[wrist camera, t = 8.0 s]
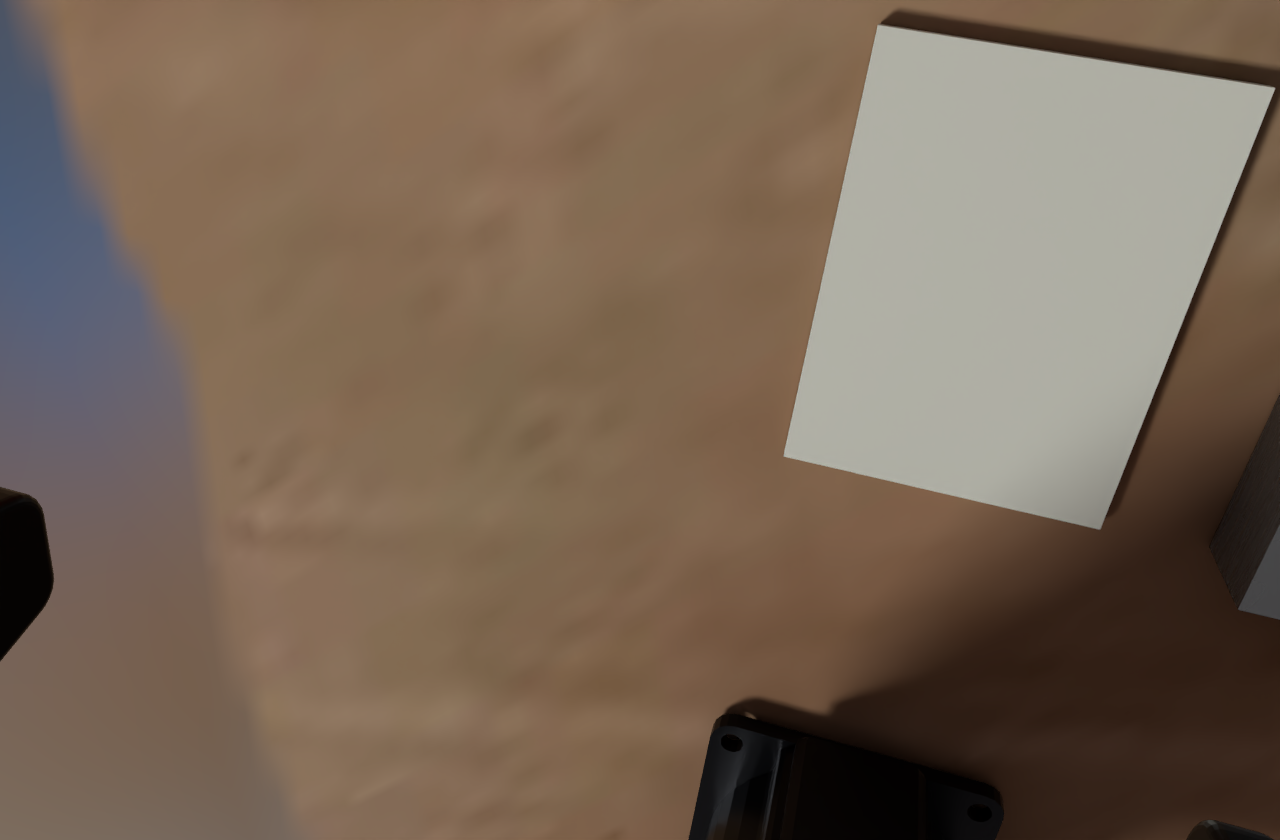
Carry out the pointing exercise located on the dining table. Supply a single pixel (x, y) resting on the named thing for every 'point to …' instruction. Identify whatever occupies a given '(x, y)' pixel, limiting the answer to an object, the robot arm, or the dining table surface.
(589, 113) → the dining table surface
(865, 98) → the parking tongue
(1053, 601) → the dining table surface
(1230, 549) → the rack flange
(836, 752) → the robot arm
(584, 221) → the dining table surface
